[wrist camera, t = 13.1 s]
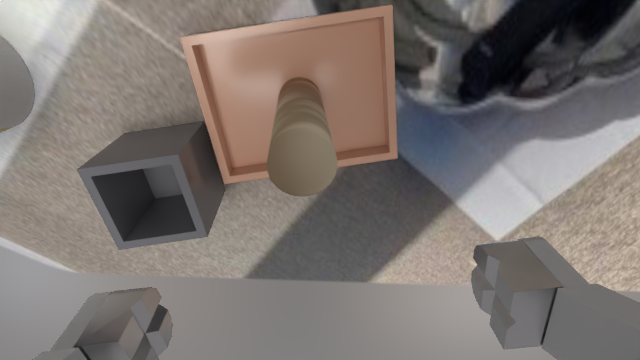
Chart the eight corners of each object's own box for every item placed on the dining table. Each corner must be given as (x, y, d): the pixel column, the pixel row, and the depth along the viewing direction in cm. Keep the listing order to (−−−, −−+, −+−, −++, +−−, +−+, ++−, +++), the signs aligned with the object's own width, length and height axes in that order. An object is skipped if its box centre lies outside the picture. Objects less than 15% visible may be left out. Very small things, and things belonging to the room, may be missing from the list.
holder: (203, 121, 27) (178, 154, 21) (224, 191, 30) (207, 236, 24) (124, 133, 27) (76, 169, 21) (153, 201, 30) (118, 249, 24)
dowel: (317, 74, 25) (333, 127, 15) (323, 115, 27) (341, 190, 16) (274, 80, 25) (260, 138, 15) (282, 121, 27) (274, 201, 16)
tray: (385, 4, 24) (392, 4, 22) (391, 148, 29) (397, 158, 27) (188, 34, 24) (179, 37, 22) (229, 172, 29) (224, 184, 27)
